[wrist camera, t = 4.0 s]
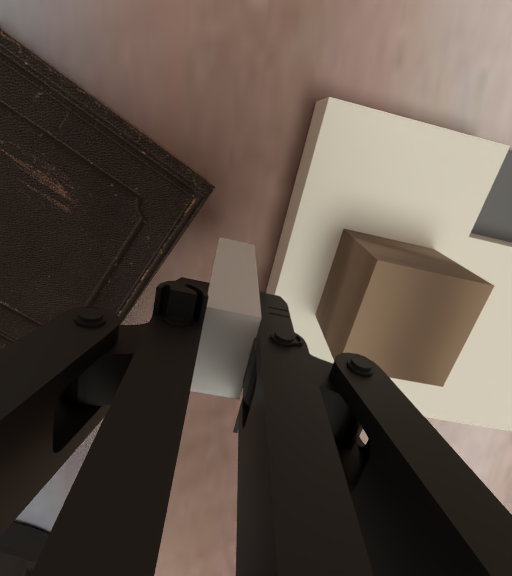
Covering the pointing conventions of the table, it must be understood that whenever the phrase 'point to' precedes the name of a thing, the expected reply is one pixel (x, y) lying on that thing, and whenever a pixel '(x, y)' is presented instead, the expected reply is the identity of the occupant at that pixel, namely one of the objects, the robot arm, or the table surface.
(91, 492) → the robot arm
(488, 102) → the table surface
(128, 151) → the hardcover book
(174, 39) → the table surface
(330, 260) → the trap board
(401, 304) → the walnut block
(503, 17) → the table surface
